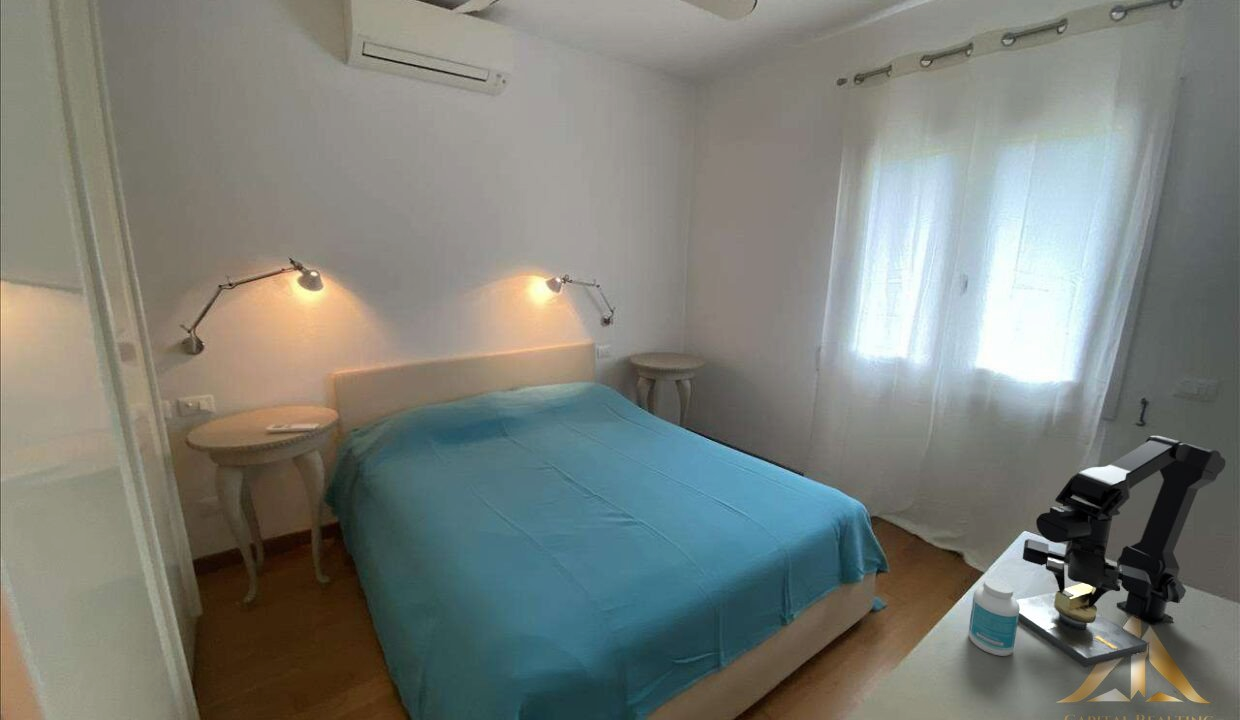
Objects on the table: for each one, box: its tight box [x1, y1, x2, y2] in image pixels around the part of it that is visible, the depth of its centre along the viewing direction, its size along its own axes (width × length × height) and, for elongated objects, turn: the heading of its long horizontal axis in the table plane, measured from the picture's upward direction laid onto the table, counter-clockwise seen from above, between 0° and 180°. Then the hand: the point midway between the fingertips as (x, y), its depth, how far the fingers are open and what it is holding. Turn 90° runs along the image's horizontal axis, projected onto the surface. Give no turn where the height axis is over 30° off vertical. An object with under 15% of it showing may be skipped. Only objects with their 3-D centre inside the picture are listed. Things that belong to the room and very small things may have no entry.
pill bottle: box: [968, 577, 1020, 657], centre depth 97 cm, size 8×7×14 cm
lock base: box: [1016, 591, 1149, 668], centre depth 101 cm, size 16×16×4 cm
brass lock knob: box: [1054, 582, 1098, 623], centre depth 100 cm, size 9×6×5 cm
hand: (1075, 601), depth 100 cm, fingers closed on brass lock knob, 4 cm apart
